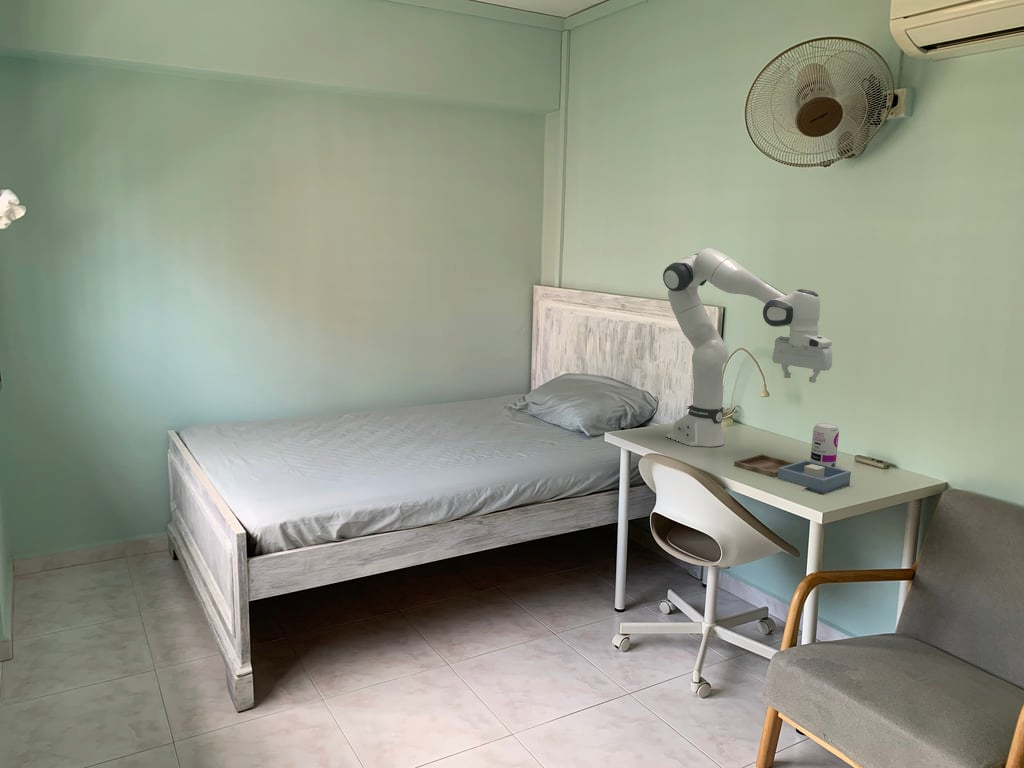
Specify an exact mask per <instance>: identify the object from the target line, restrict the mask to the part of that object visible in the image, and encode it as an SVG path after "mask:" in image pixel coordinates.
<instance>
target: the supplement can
mask: <svg viewBox="0 0 1024 768" xmlns="http://www.w3.org/2000/svg"><path fill="white" fill-rule="evenodd" d="M839 434H840V430H839V428H838V425H837V424H833V423H826V422H818V423H815V426H813V428H812V439H811V450H810V460H809V461H812V462H815V463H819V464H823V465H827V466H831V467H835V468H837V467H836V465H837V464H836V463H837V455H838V446H839V436H840V435H839Z"/></svg>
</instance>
